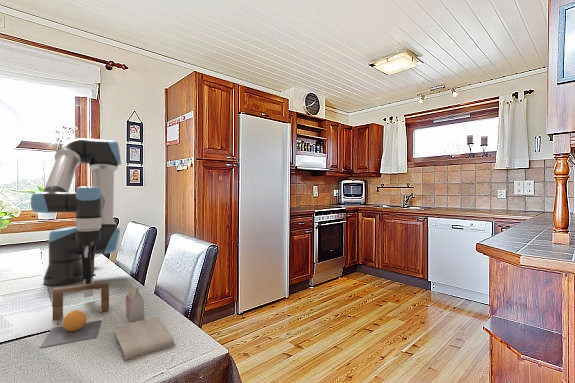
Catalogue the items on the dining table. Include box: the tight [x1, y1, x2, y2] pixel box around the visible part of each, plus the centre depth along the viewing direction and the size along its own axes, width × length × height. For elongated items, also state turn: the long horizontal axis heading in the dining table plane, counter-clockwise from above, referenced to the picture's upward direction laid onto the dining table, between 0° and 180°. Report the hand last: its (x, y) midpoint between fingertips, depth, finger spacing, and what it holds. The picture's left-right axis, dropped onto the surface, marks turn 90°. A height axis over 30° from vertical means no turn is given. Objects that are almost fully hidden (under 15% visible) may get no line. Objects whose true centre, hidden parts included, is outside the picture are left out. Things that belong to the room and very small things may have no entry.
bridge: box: [52, 281, 110, 322], centre depth 95 cm, size 3×14×9 cm, turn 116°
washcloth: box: [113, 316, 175, 361], centre depth 79 cm, size 12×18×3 cm, turn 38°
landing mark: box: [39, 319, 102, 349], centre depth 82 cm, size 12×12×1 cm
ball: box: [62, 309, 88, 331], centre depth 84 cm, size 6×6×6 cm
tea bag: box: [125, 283, 145, 323], centre depth 93 cm, size 4×7×10 cm, turn 39°
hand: (88, 295), depth 106 cm, fingers closed
